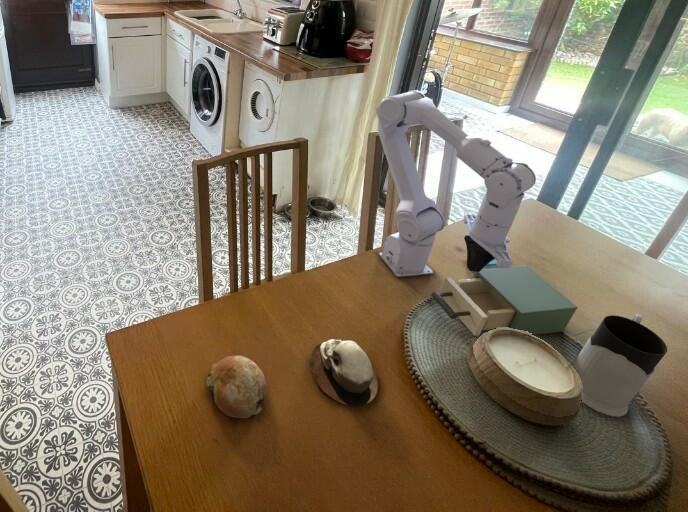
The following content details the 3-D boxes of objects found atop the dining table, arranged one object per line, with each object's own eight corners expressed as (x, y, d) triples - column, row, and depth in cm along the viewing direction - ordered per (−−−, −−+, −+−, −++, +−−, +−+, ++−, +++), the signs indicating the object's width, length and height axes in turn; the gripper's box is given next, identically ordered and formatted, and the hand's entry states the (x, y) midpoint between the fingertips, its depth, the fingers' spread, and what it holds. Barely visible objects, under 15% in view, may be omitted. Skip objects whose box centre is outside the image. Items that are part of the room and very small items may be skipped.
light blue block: (480, 278, 98) (486, 264, 97) (465, 263, 103) (471, 250, 101) (498, 276, 99) (504, 262, 97) (483, 262, 103) (488, 248, 101)
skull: (293, 348, 80) (330, 313, 79) (323, 364, 85) (358, 331, 83) (328, 409, 70) (371, 370, 68) (360, 423, 74) (401, 387, 72)
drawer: (454, 338, 83) (462, 319, 80) (420, 297, 92) (426, 279, 90) (525, 330, 84) (534, 312, 82) (485, 290, 94) (492, 273, 91)
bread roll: (239, 439, 70) (262, 426, 65) (193, 394, 72) (211, 378, 68) (260, 390, 78) (282, 375, 73) (218, 350, 80) (236, 333, 75)
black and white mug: (556, 385, 75) (592, 329, 68) (577, 344, 83) (611, 290, 76) (622, 427, 69) (668, 369, 62) (638, 378, 76) (681, 322, 70)
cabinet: (508, 337, 84) (521, 313, 81) (466, 293, 94) (476, 269, 91) (563, 331, 85) (578, 307, 82) (515, 288, 96) (526, 265, 93)
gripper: (539, 244, 75) (513, 297, 81) (495, 199, 88) (476, 248, 94) (498, 240, 76) (475, 293, 82) (460, 196, 89) (443, 245, 95)
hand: (473, 269), depth 88 cm, fingers closed
